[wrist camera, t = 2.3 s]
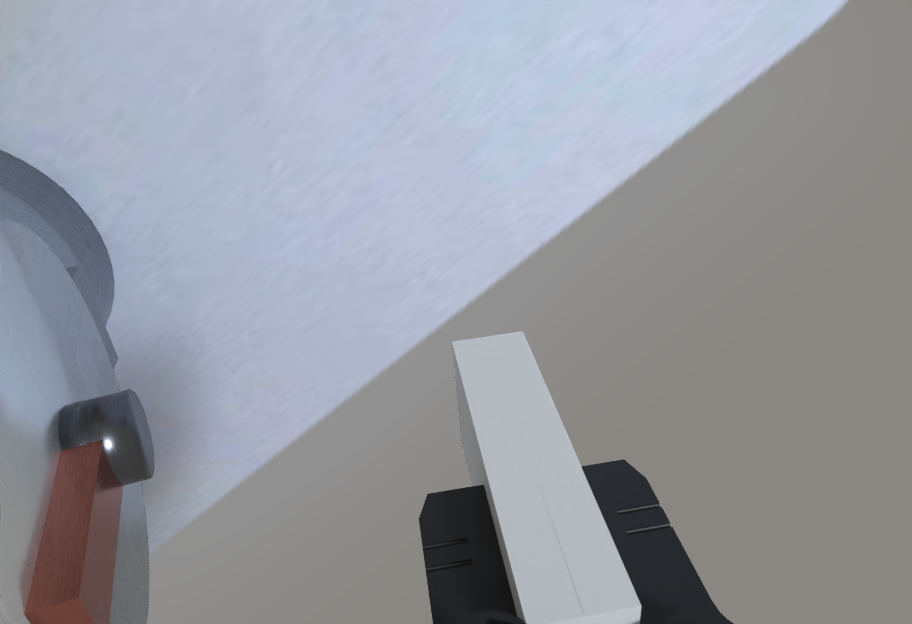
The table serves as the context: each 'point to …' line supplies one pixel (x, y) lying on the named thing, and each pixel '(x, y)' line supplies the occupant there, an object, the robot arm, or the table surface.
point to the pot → (61, 235)
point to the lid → (65, 454)
